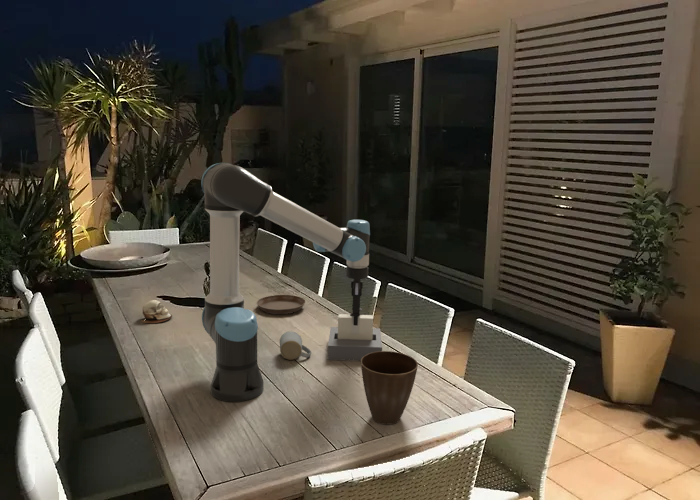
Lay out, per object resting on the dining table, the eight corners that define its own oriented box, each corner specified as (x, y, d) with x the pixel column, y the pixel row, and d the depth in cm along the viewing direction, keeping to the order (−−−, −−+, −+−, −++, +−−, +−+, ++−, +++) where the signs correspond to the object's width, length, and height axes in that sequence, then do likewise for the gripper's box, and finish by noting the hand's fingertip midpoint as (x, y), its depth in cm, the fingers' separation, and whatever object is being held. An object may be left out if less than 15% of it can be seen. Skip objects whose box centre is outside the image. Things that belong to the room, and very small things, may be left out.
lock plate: (381, 361, 184) (382, 347, 183) (327, 359, 184) (327, 345, 183) (379, 341, 202) (380, 328, 201) (330, 339, 202) (330, 326, 201)
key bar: (372, 342, 194) (373, 315, 192) (372, 346, 191) (373, 318, 188) (337, 341, 194) (338, 314, 192) (337, 344, 191) (338, 317, 189)
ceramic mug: (279, 361, 182) (280, 339, 180) (279, 351, 190) (279, 330, 188) (312, 361, 183) (312, 339, 182) (310, 351, 191) (310, 330, 190)
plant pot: (410, 404, 155) (413, 351, 152) (418, 432, 141) (422, 374, 137) (357, 404, 155) (359, 350, 151) (360, 432, 140) (362, 373, 137)
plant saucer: (249, 313, 229) (249, 306, 228) (267, 299, 248) (267, 292, 248) (296, 318, 224) (296, 311, 224) (311, 304, 244) (311, 296, 243)
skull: (177, 311, 226) (171, 298, 217) (170, 334, 219) (164, 321, 211) (148, 309, 226) (141, 296, 217) (141, 331, 220) (133, 319, 211)
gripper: (346, 259, 195) (345, 322, 200) (345, 271, 178) (343, 339, 183) (368, 260, 195) (365, 323, 199) (368, 272, 178) (366, 340, 183)
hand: (355, 331), depth 191 cm, fingers closed on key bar, 3 cm apart
